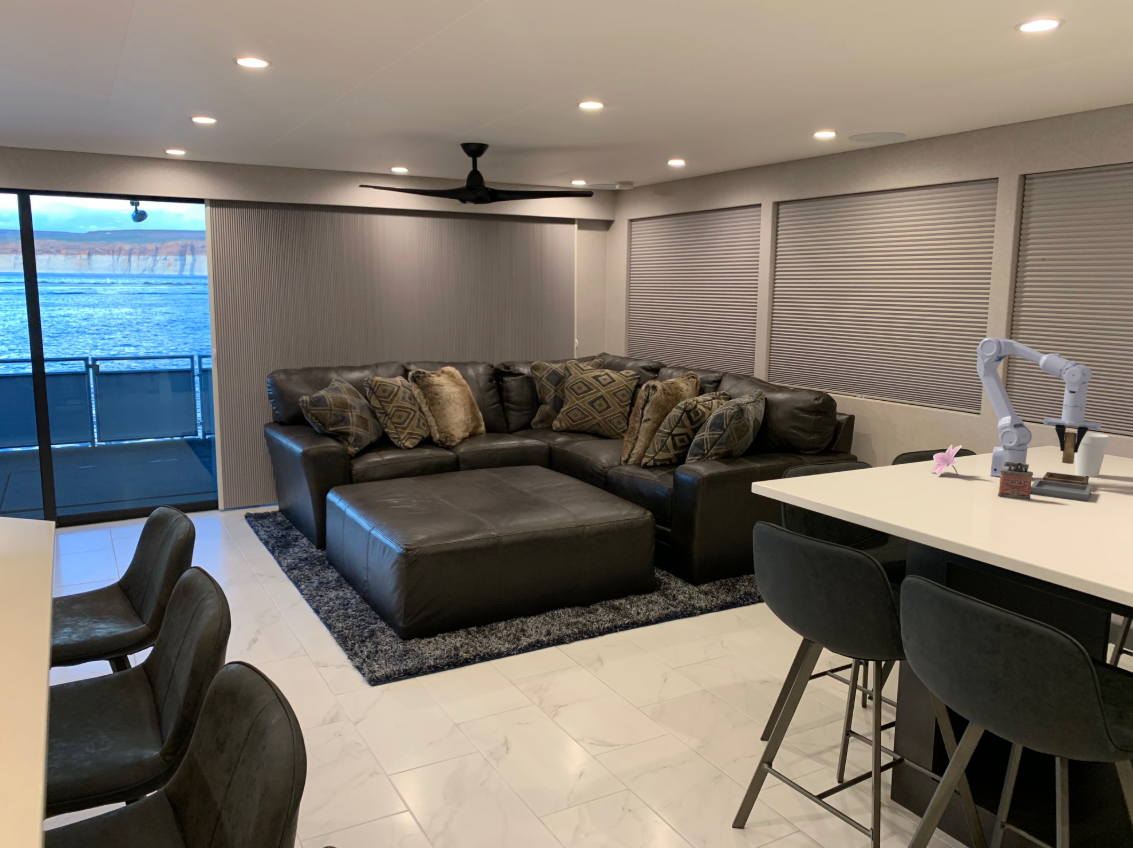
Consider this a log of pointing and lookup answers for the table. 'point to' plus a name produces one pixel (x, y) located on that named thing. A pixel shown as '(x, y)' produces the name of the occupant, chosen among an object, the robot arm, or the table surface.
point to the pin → (1069, 447)
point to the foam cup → (1090, 454)
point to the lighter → (1015, 481)
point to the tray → (1061, 490)
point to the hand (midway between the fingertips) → (1068, 451)
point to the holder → (1066, 478)
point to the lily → (945, 460)
